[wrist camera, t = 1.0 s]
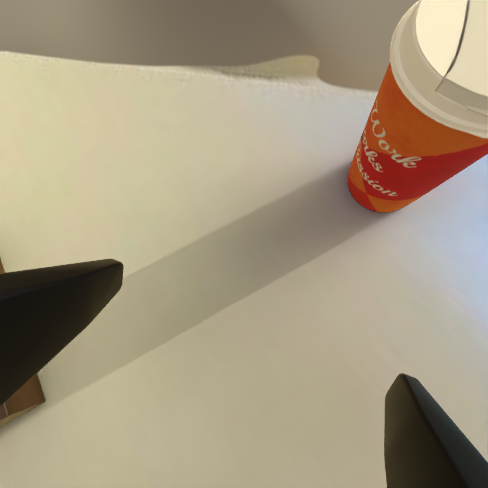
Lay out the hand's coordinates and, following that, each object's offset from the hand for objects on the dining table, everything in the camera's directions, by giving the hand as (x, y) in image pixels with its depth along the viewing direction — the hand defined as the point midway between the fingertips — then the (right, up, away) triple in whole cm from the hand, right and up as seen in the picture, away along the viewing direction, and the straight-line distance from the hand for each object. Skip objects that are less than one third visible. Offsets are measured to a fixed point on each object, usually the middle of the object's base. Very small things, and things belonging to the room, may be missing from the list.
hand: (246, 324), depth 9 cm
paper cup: (+11, +8, +16) cm, 21 cm away
